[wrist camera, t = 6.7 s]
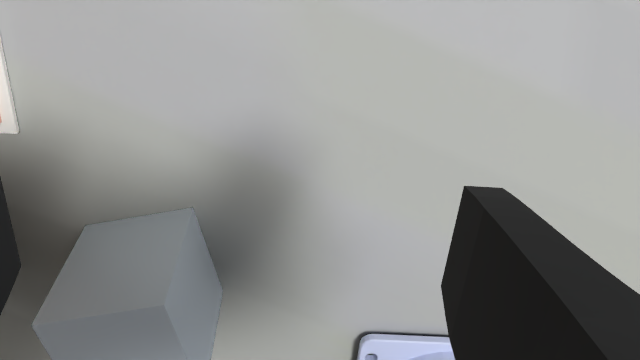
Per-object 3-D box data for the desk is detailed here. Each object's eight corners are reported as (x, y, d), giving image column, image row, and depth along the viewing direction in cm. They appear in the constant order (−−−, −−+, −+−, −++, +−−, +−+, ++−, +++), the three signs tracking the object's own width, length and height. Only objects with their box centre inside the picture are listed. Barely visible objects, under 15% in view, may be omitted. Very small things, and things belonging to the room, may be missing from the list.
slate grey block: (223, 290, 23) (203, 397, 19) (124, 305, 24) (84, 414, 19) (193, 206, 21) (164, 305, 17) (85, 224, 22) (31, 325, 17)
